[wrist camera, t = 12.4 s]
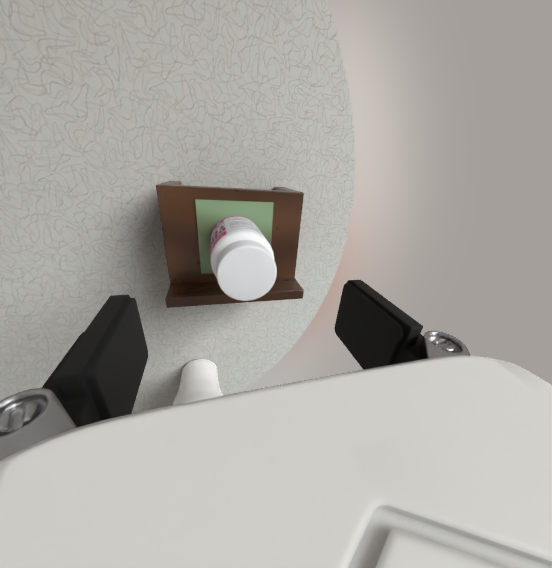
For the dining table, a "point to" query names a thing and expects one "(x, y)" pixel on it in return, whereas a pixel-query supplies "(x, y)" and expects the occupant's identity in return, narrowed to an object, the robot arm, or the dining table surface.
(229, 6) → the dining table surface
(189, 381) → the cup
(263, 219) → the shelf
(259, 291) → the pill bottle
